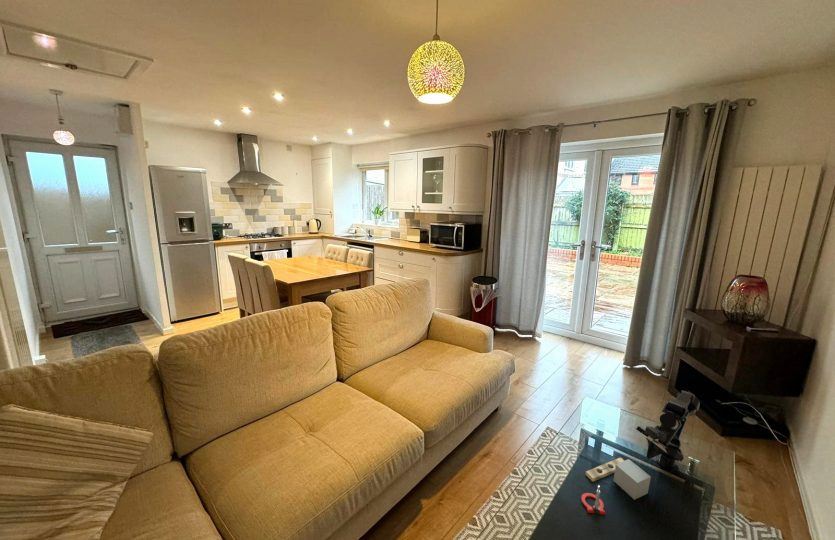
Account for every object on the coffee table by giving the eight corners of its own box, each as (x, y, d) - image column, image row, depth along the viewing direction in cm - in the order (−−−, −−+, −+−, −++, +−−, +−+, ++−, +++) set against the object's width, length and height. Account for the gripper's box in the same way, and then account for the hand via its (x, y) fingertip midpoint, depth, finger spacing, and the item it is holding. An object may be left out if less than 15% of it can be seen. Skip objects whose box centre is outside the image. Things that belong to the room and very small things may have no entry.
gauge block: (626, 475, 150) (628, 459, 148) (647, 493, 141) (650, 476, 138) (613, 480, 147) (615, 464, 145) (634, 499, 138) (637, 482, 136)
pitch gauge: (620, 460, 158) (620, 457, 157) (627, 466, 154) (628, 463, 154) (585, 474, 151) (586, 471, 150) (592, 481, 147) (593, 478, 146)
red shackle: (578, 493, 142) (585, 513, 133) (580, 468, 139) (588, 486, 130) (598, 496, 140) (607, 516, 132) (601, 470, 138) (611, 489, 129)
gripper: (638, 409, 151) (619, 436, 151) (677, 435, 133) (655, 466, 133) (653, 419, 154) (634, 446, 154) (693, 446, 136) (672, 476, 136)
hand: (647, 458), depth 144 cm, fingers closed
